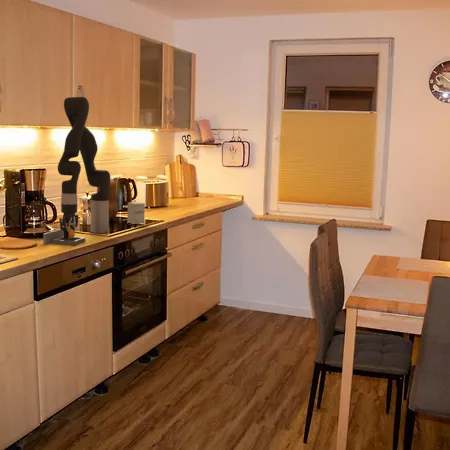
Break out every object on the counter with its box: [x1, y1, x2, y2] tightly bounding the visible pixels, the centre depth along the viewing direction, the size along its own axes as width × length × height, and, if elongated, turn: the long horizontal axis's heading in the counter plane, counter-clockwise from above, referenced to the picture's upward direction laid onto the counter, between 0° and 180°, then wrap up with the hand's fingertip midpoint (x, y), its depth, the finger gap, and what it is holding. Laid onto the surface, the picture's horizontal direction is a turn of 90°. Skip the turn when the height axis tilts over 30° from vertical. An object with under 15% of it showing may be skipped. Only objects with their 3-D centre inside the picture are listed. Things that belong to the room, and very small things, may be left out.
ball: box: [68, 227, 75, 239], centre depth 289 cm, size 5×5×5 cm
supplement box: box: [127, 201, 146, 225], centre depth 350 cm, size 7×7×13 cm
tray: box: [52, 236, 86, 247], centre depth 290 cm, size 11×11×2 cm
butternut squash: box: [96, 178, 119, 221], centre depth 357 cm, size 14×13×25 cm
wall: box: [42, 228, 64, 245], centre depth 292 cm, size 16×1×5 cm, turn 164°
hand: (69, 237), depth 290 cm, fingers closed on ball, 5 cm apart
